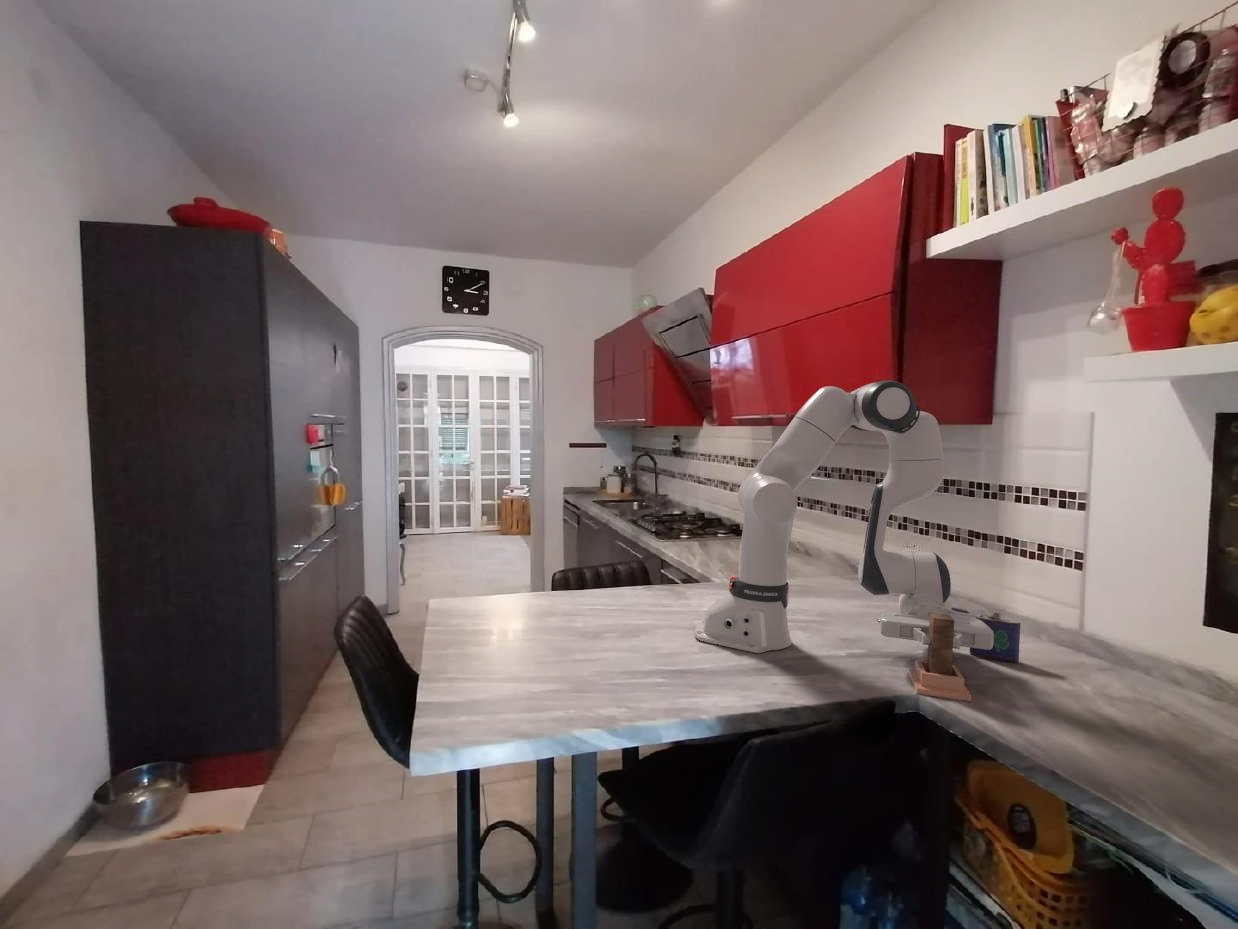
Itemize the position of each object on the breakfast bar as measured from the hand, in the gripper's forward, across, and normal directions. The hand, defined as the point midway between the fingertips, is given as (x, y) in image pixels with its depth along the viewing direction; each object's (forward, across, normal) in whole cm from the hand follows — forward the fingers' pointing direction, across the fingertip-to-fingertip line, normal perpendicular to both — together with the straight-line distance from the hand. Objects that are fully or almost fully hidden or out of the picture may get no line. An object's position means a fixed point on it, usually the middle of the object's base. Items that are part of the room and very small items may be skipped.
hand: (941, 642), depth 109 cm
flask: (-23, +15, +9) cm, 29 cm away
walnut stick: (-1, 0, +7) cm, 7 cm away
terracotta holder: (-1, 0, +9) cm, 9 cm away
